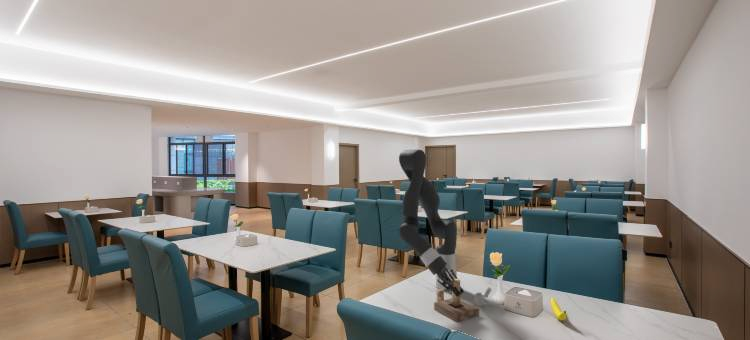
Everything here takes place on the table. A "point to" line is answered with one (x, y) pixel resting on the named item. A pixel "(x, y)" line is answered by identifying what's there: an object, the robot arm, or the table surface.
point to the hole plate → (456, 310)
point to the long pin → (454, 298)
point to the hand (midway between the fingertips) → (460, 294)
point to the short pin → (440, 294)
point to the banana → (558, 310)
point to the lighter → (481, 297)
